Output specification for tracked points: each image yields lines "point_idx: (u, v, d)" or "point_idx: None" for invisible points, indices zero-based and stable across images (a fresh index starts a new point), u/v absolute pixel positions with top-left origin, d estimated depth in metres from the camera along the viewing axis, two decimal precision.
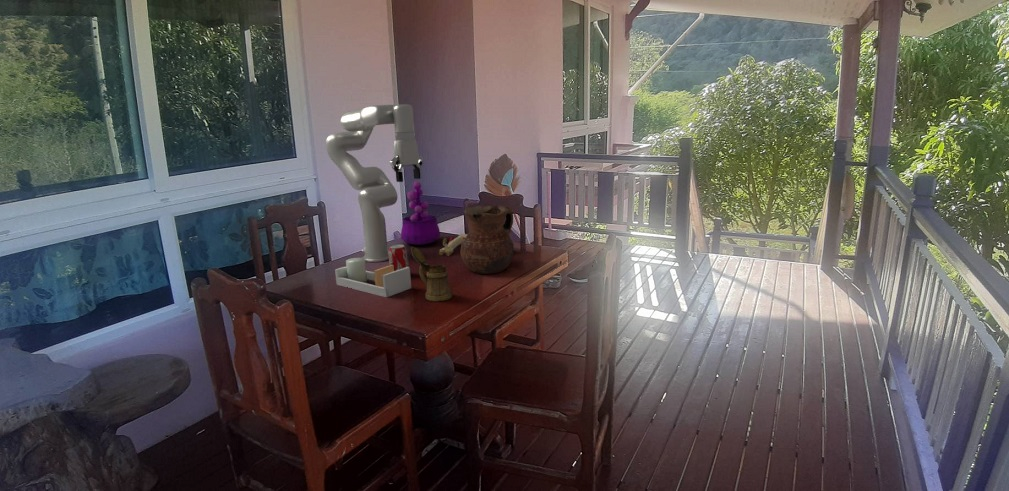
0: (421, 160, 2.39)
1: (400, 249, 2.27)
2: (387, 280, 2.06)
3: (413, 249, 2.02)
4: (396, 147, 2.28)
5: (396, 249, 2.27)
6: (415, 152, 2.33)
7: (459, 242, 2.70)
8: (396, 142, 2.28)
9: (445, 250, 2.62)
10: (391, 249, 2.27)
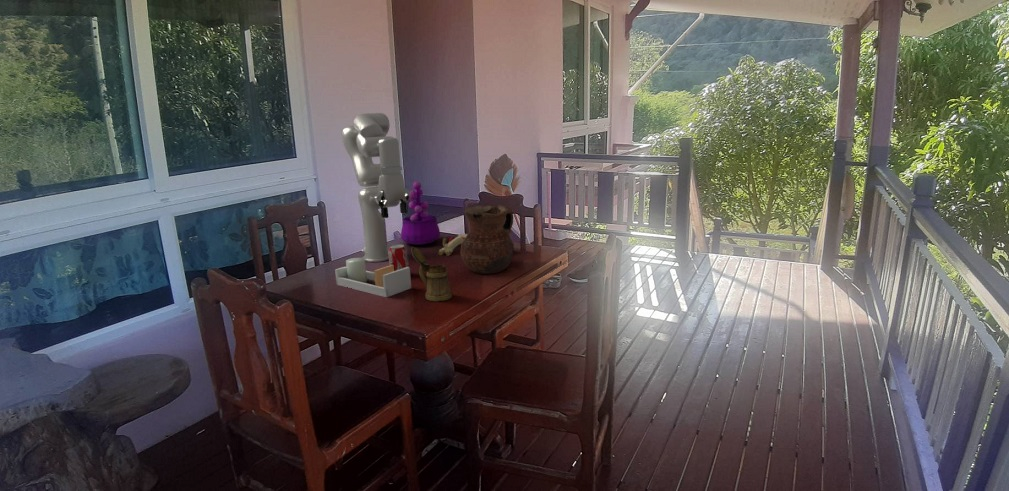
0: (408, 194, 2.30)
1: (400, 249, 2.27)
2: (387, 280, 2.06)
3: (413, 249, 2.02)
4: (381, 182, 2.20)
5: (396, 249, 2.27)
6: (401, 187, 2.24)
7: (459, 242, 2.70)
8: (381, 177, 2.19)
9: (445, 250, 2.61)
10: (391, 249, 2.27)
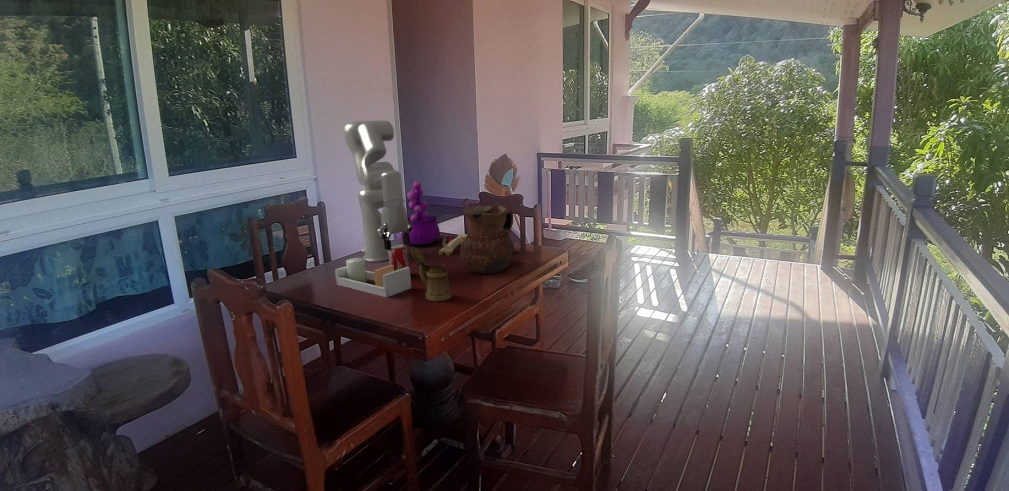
0: (411, 226, 2.33)
1: (400, 249, 2.27)
2: (387, 280, 2.06)
3: (413, 249, 2.02)
4: (384, 214, 2.22)
5: (396, 249, 2.27)
6: (404, 219, 2.27)
7: (459, 242, 2.70)
8: (384, 210, 2.22)
9: (445, 250, 2.61)
10: (391, 249, 2.27)
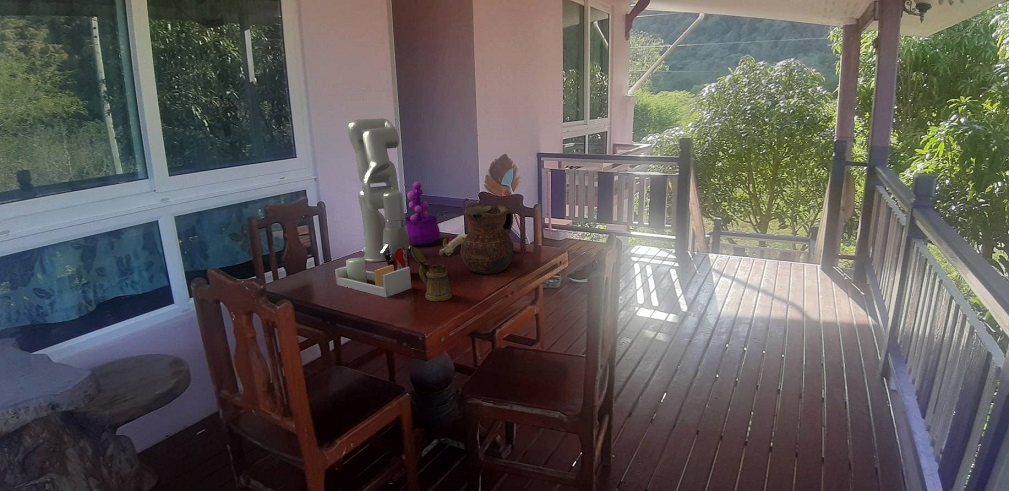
0: (410, 247, 2.35)
1: (400, 249, 2.27)
2: (387, 280, 2.06)
3: (413, 249, 2.02)
4: (386, 235, 2.24)
5: None
6: (405, 238, 2.29)
7: (458, 242, 2.70)
8: (386, 230, 2.24)
9: (445, 250, 2.61)
10: None
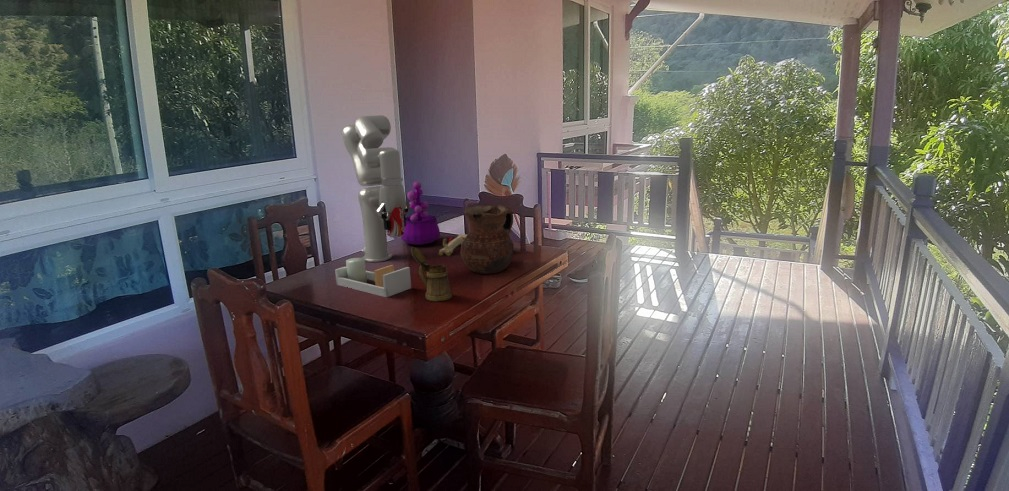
0: (407, 207, 2.31)
1: (397, 208, 2.23)
2: (387, 280, 2.06)
3: (413, 249, 2.02)
4: (382, 193, 2.21)
5: None
6: (402, 198, 2.26)
7: (459, 242, 2.70)
8: (382, 188, 2.20)
9: (445, 250, 2.61)
10: None
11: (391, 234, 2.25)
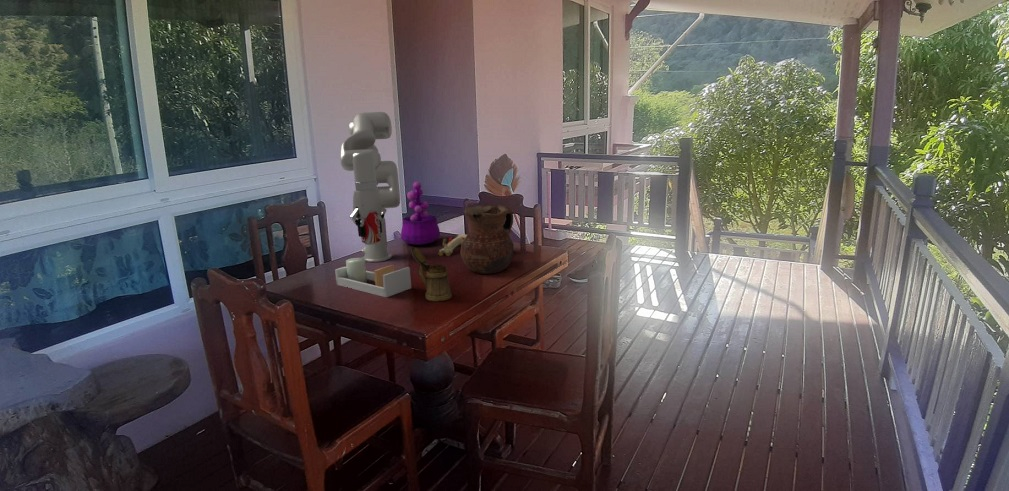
0: (383, 212, 2.18)
1: (372, 214, 2.11)
2: (387, 280, 2.06)
3: (413, 249, 2.02)
4: (355, 198, 2.08)
5: None
6: (377, 203, 2.13)
7: (458, 242, 2.70)
8: (356, 193, 2.08)
9: (445, 250, 2.61)
10: None
11: (366, 241, 2.12)
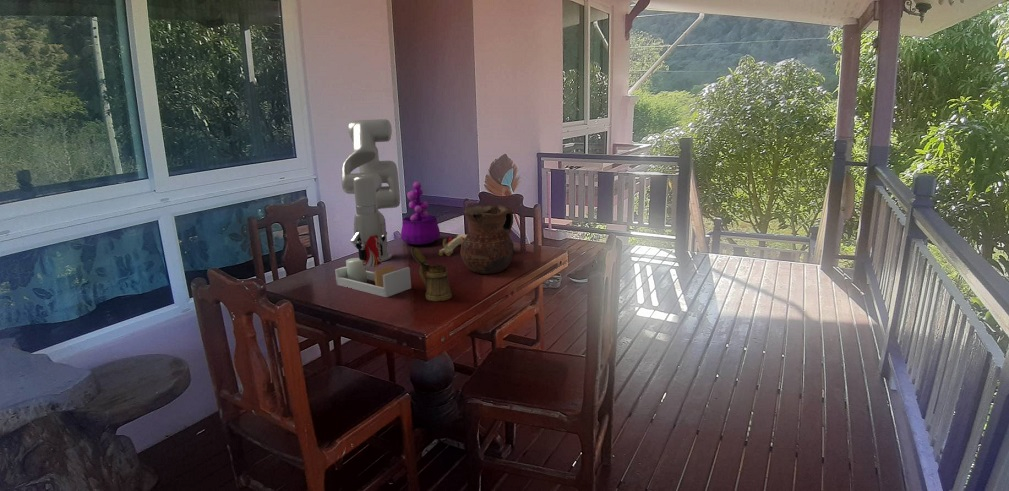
0: (384, 235, 2.20)
1: (372, 237, 2.12)
2: (387, 280, 2.06)
3: (413, 249, 2.02)
4: (356, 222, 2.09)
5: None
6: (378, 226, 2.14)
7: (458, 242, 2.70)
8: (356, 217, 2.09)
9: (445, 250, 2.61)
10: None
11: (367, 264, 2.14)
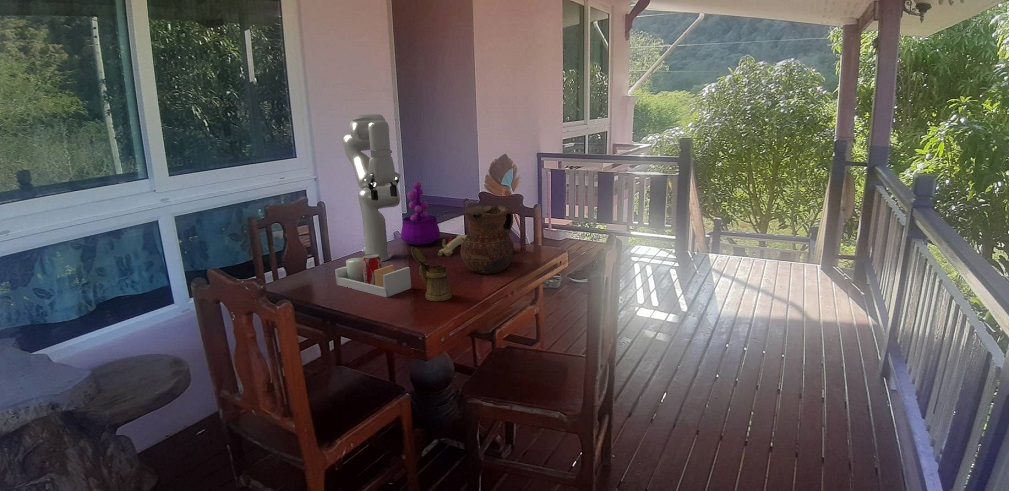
0: (398, 177, 2.33)
1: (374, 259, 2.14)
2: (387, 280, 2.06)
3: (413, 249, 2.02)
4: (371, 164, 2.22)
5: (370, 259, 2.14)
6: (391, 170, 2.27)
7: (458, 243, 2.69)
8: (371, 160, 2.22)
9: (444, 251, 2.60)
10: (365, 259, 2.14)
11: None
